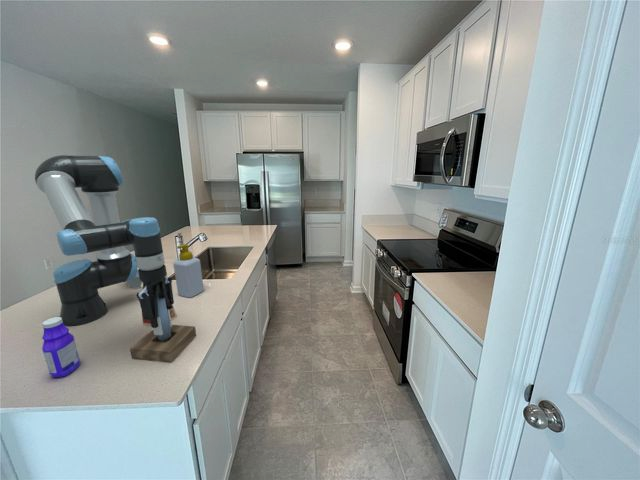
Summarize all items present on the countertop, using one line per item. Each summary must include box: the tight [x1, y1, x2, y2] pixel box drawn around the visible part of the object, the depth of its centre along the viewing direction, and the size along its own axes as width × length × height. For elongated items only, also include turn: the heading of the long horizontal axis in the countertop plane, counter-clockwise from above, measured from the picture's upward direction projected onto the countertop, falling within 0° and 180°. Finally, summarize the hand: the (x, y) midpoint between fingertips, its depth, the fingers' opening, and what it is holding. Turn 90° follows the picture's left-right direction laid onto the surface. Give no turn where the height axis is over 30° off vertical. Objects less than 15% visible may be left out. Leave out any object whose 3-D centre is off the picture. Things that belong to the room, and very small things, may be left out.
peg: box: [157, 298, 171, 340], centre depth 89 cm, size 4×4×14 cm
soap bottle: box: [172, 243, 205, 298], centre depth 128 cm, size 9×9×25 cm
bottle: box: [41, 316, 81, 378], centre depth 79 cm, size 7×6×17 cm
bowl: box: [125, 268, 142, 289], centre depth 142 cm, size 19×19×11 cm
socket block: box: [129, 324, 197, 364], centre depth 92 cm, size 14×14×4 cm
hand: (163, 330), depth 91 cm, fingers closed on peg, 4 cm apart
